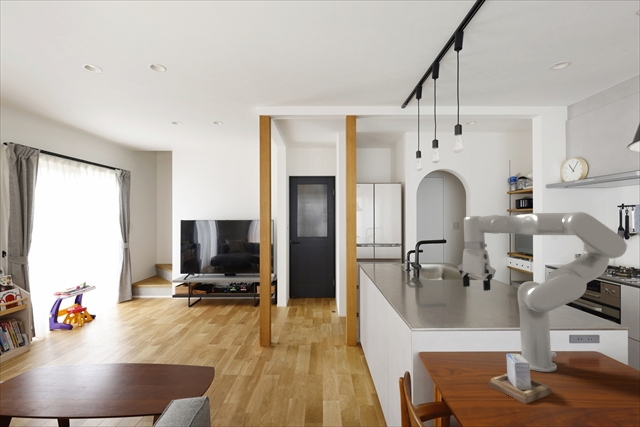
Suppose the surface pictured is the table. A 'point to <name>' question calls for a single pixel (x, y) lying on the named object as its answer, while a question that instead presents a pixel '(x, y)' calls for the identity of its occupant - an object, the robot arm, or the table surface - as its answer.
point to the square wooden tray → (523, 396)
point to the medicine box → (518, 371)
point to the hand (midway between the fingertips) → (476, 288)
